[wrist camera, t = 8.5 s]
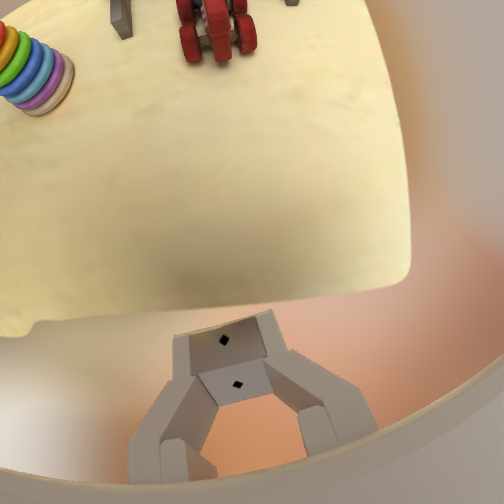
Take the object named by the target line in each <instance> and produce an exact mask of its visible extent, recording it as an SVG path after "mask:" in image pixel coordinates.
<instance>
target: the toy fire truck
mask: <svg viewBox="0 0 504 504" xmlns="http://www.w3.org/2000/svg"><path fill="white" fill-rule="evenodd" d="M176 4H177V9H178V13H179V17H180V21H181V23H182V24H183V25H184V26H181V27H180V29H179V33H180V39H181V44H182V48H183V52H184V55H185V58H186V61H187V62H192V61H197V60H200V59H201V58H202V54H201V49H200V46H201V45H206V44H210V43H211V45H212V49H213V52H214V57H215V61H216V62H221V61H225V60H229V59H231V58H232V51H231V40H232V39H236V40H237V44H238V47H239V49H240V51H241V52H248V51H254V50H255V49H256V48H257V35H256V29H255V25H254V22H253V19H252V17H251V16H250V15H249V14H246V13H247V0H176ZM200 9H201V14H202V19H203V23H204V27H205V31H206V33H207V35H205V36H200V37H198V35H197V31H196V28H195V26H194V24H192V23H195V22H196V17H195V10H200ZM229 10H230V11H231V14H232V15H234V16H236V17H235V18H234V29H235V30H232V31H230V29H231V25H230V18H229V13H228V11H229ZM244 14H245V15H244ZM237 15H238V16H237ZM188 24H189V25H188Z"/></svg>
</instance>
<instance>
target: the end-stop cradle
mask: <svg viewBox="0 0 504 504" xmlns="http://www.w3.org/2000/svg"><path fill="white" fill-rule="evenodd" d="M285 2H286V4H287V6H298V3H299V0H285ZM110 21H111V24H112V25H113V27H114V28H115V30H116V31H117V32H118V34H119V35H120V37H121V38H122V40H124V39H126V38H129V37H132V36H133V33H132V19H131V3H130V0H110Z"/></svg>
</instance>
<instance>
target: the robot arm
mask: <svg viewBox="0 0 504 504" xmlns="http://www.w3.org/2000/svg"><path fill="white" fill-rule="evenodd" d="M255 316H256V317H255ZM258 326H259V327H258ZM271 393H274V395H276V396H277V397H278V398H279V399H281V400H282V401H283V402H284V403H285V404H286V405H288V406H289V407H290V408H291V409H293V410H294V411H295V412H296V413H297V414H298V416H297V419H298V422H299V427H300V431H301V435H302V440H303V444H304V448H305V451H306V454H307V458H304V459H301V460H297V461H294V462H290V463H286V464H283V465H279V466H275V467H271V468H267V469H262V470H258V471H253V472H249V473H243V474H238V475H233V476H227V477H220V478H218V474H217V468H216V466H214V465H213V464H212V463H210V462H209V461H208V460H206V459H205V458H204V457H203V456H201V455H200V452H201V449H202V447H203V444H204V442H205V440H206V437H207V435H208V433H209V431H210V428H211V426H212V424H213V421H214V419H215V416H216V414H217V412H218V409H219V408H218V407H219V406H223V405H227V404H231V403H235V402H239V401H242V400H246V399H251V398H255V397H259V396H263V395H267V394H271ZM0 504H504V354H503V355H501V356H500V357H499V358H498V359H496V360H495V361H494V362H493V363H491V364H490V365H489V366H487V367H486V368H485V369H483V370H482V371H481V372H479V373H478V374H476V375H475V376H473V377H472V378H471V379H469V380H468V381H466V382H465V383H463V384H462V385H460V386H459V387H457V388H456V389H454V390H452V391H451V392H449V393H448V394H446V395H444V396H443V397H441V398H440V399H438V400H437V401H434V402H433V403H431V404H429V405H428V406H426V407H424V408H422V409H420V410H419V411H417V412H415V413H413V414H411V415H409V416H407V417H405V418H403V419H402V420H399V421H397V422H395V423H393V424H391V425H389V426H387V427H385V428H383V429H379V428H378V425H377V423H376V421H375V419H374V417H373V415H372V413H371V411H370V409H369V407H368V405H367V403H366V401H365V399H364V397H363V395H362V393H361V391H360V389H359V388H358V387H356V386H354V385H353V384H351V383H349V382H347V381H345V380H344V379H342V378H340V377H339V376H337V375H335V374H333V373H332V372H330V371H328V370H327V369H325V368H323V367H322V366H320V365H318V364H316V363H315V362H313V361H311V360H310V359H308V358H306V357H305V356H303V355H301V354H300V353H298V352H297V351H295V350H293V349H292V350H287V348H286V345H285V342H284V339H283V337H282V334H281V331H280V328H279V326H278V323H277V320H276V318H275V315H274V312H273V311H272V310H267V311H264V312H261V313H258V314H255V315H252V316H248V317H245V318H242V319H238V320H234V321H231V322H227V323H224V324H221V325H217V326H213V327H209V328H205V329H201V330H196V331H192V332H189V333H184V334H180V335H175V336H174V338H173V380H171V381H168V382H167V384H166V385H165V387H164V388H163V390H162V391H161V393H160V394H159V396H158V397H157V399H156V400H155V402H154V403H153V405H152V407H151V408H150V410H149V411H148V413H147V414H146V416H145V417H144V419H143V420H142V422H141V423H140V425H139V426H138V428H137V429H136V431H135V433H134V434H133V436H132V437H131V439H130V440H129V442H128V484H101V483H88V482H78V481H69V480H61V479H55V478H48V477H43V476H37V475H32V474H27V473H22V472H18V471H14V470H10V469H6V468H2V467H0Z"/></svg>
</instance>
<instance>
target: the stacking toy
mask: <svg viewBox="0 0 504 504" xmlns="http://www.w3.org/2000/svg"><path fill="white" fill-rule="evenodd" d="M72 77H73V66H72V63H71V61H70V59H69V58H68V57H67V56H65V55H64V54H61V53H59V52H58V51H57V50H55V49H52V48H50V47H49V46H48V45H46V44H43V43H39V41H37V40H36V39H34V38H29V36H28V35H27V34H26V33H25V32H22V31H18V32H17V30H16V29H15V28H13V27H11V26H5V25H4V23H3V22H2V21H0V95H1V96H4V97H5V99H6V100H7V101H9V102H11V103H13V105H14V106H15V107H17V108H19V109H21V110H22V111H23V112H24V113H26V114H28V115H32V116H37V115H41V114H44V113H46V112H48V111H50V110H51V109H53V108H54V107H55V106H56V105H57V104H58V103H59V102H60V101H61V100H62V98H63V97H64V96H65V94H66V93H67V91H68V89H69V87H70V84H71V81H72Z"/></svg>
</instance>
